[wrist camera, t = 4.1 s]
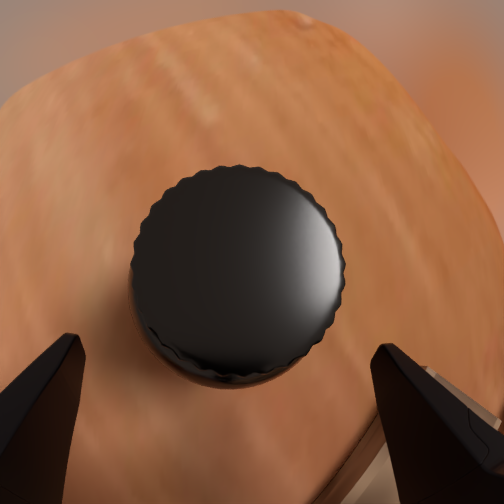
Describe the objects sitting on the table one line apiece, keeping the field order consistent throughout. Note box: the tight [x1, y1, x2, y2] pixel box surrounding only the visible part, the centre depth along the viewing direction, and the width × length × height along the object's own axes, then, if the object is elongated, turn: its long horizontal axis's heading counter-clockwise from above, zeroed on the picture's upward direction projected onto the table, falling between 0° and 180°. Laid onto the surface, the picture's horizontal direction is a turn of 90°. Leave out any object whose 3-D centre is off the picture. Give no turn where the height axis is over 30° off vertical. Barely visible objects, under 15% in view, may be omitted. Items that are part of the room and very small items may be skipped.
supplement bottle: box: [128, 165, 346, 389], centre depth 12 cm, size 7×7×12 cm
